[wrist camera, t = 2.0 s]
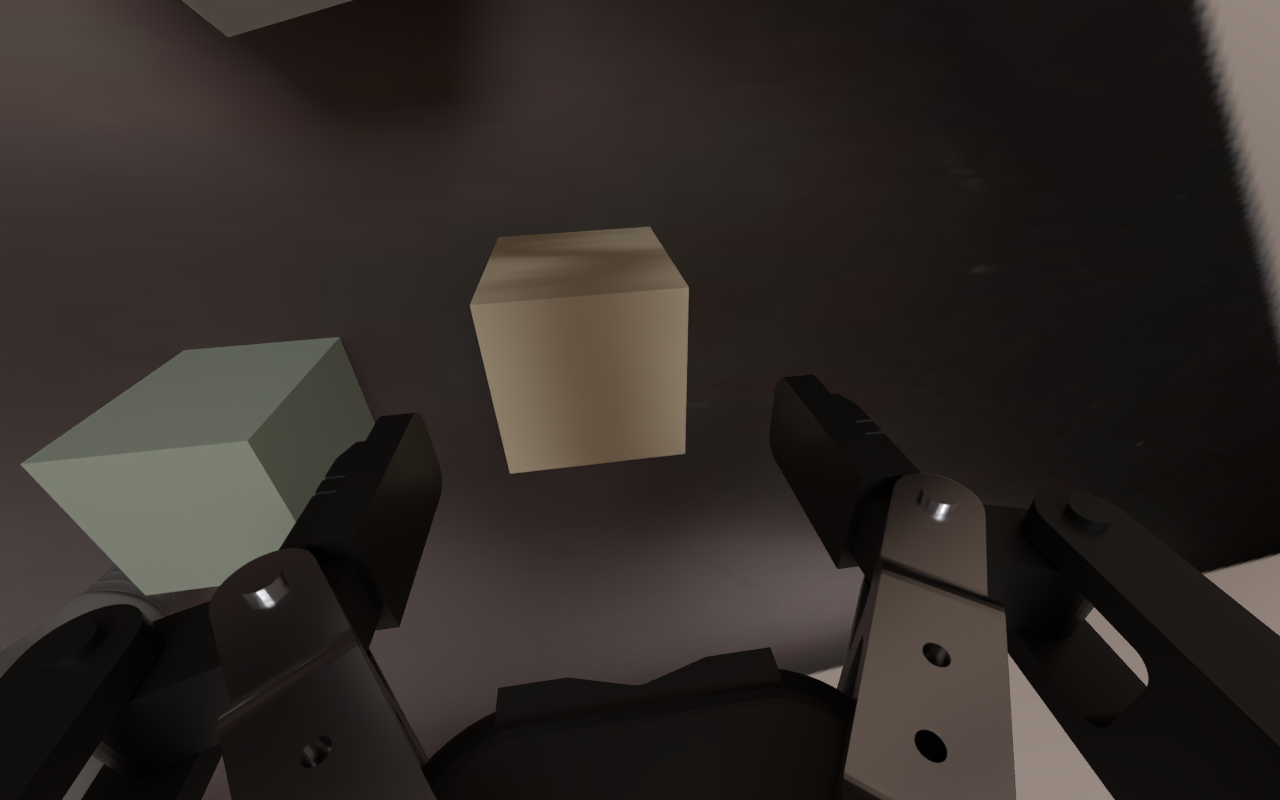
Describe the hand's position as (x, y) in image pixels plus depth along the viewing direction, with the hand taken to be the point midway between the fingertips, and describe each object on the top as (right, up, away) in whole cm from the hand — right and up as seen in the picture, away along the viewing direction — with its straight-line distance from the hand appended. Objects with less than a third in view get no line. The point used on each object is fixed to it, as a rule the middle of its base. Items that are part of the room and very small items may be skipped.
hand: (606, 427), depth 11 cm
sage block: (-12, 0, +7) cm, 14 cm away
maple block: (-1, +4, +6) cm, 8 cm away
